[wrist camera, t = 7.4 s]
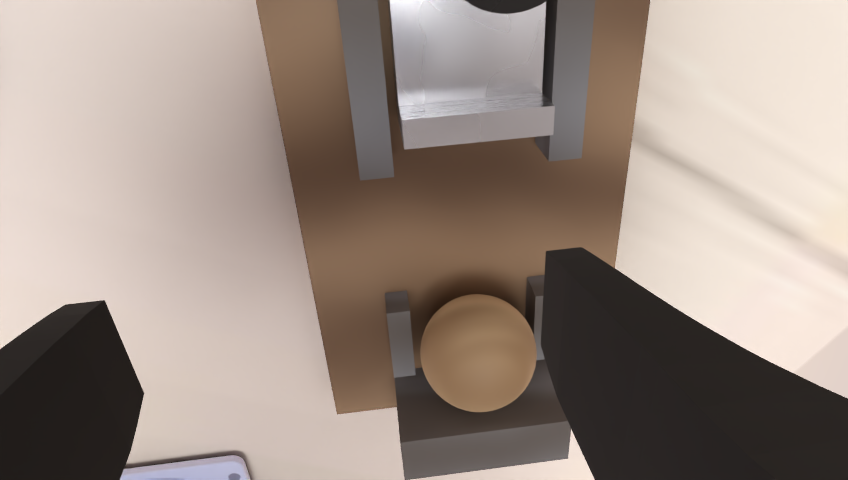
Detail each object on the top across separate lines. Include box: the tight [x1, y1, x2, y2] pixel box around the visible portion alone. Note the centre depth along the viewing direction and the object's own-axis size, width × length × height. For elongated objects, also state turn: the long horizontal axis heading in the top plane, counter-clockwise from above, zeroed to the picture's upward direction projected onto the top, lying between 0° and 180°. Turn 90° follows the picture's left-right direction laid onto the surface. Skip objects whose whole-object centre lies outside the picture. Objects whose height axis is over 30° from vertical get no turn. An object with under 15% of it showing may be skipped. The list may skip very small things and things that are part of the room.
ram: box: [388, 0, 555, 150], centre depth 13 cm, size 7×4×6 cm, turn 4°
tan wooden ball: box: [420, 294, 537, 412], centre depth 20 cm, size 4×4×4 cm
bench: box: [256, 0, 650, 480], centre depth 18 cm, size 20×11×4 cm, turn 4°
